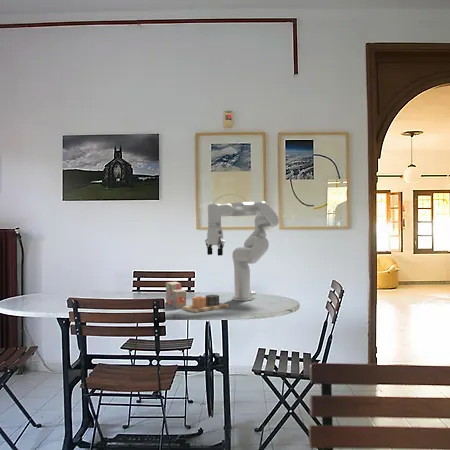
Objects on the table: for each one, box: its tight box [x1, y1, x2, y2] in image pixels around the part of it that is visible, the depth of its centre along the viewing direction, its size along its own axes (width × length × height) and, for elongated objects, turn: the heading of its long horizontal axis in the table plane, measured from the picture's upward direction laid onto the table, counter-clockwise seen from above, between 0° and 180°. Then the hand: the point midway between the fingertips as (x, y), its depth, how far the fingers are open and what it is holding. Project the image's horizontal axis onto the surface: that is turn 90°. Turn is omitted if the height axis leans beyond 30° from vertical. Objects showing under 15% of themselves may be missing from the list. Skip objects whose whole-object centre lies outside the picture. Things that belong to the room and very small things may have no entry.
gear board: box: [182, 294, 230, 313], centre depth 263 cm, size 22×13×7 cm, turn 128°
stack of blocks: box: [165, 281, 187, 309], centre depth 276 cm, size 21×6×12 cm, turn 21°
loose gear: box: [191, 295, 206, 308], centre depth 261 cm, size 7×7×5 cm
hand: (215, 255), depth 276 cm, fingers open, 9 cm apart
